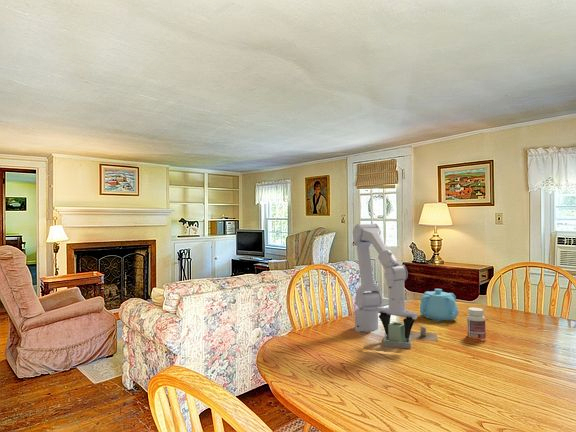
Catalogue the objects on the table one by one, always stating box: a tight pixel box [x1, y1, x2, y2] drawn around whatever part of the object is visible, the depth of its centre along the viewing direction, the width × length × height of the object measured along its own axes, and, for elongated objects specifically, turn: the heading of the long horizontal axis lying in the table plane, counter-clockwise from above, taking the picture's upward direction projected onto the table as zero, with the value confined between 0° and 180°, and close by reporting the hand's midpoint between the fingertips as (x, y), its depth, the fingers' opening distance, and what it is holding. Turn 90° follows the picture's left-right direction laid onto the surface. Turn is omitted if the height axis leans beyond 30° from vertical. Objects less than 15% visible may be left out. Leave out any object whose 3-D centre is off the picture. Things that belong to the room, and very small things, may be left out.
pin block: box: [410, 325, 439, 343], centre depth 140 cm, size 10×10×4 cm
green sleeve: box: [388, 321, 407, 343], centre depth 133 cm, size 5×5×7 cm
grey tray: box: [382, 333, 412, 350], centre depth 133 cm, size 9×9×2 cm
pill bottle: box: [466, 307, 487, 342], centre depth 138 cm, size 6×6×11 cm
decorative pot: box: [419, 288, 459, 323], centre depth 167 cm, size 16×16×14 cm
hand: (397, 335), depth 133 cm, fingers open, 7 cm apart
